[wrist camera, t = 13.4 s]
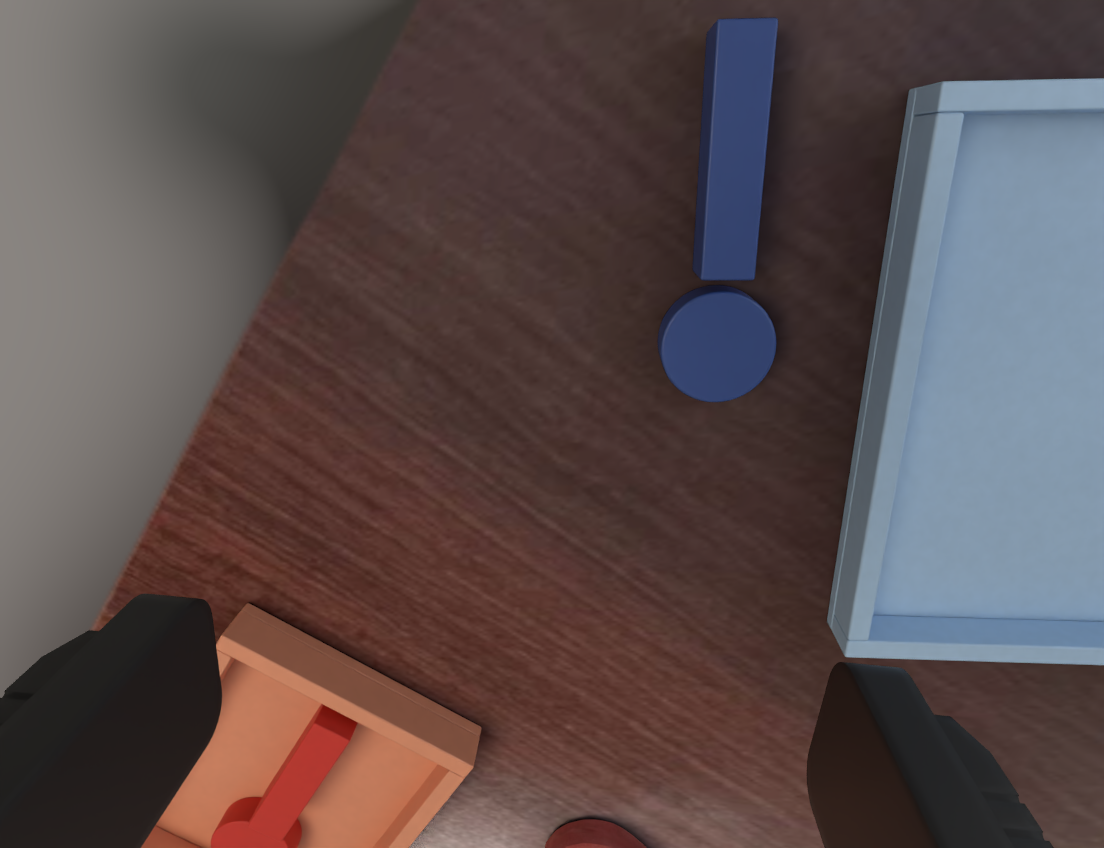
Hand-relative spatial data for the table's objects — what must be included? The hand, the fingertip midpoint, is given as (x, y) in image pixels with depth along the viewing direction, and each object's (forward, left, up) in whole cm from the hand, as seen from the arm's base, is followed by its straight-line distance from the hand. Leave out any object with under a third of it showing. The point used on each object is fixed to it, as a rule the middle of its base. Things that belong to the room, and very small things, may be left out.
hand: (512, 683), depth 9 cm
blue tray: (+1, +17, -14) cm, 22 cm away
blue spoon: (-4, +5, -14) cm, 16 cm away
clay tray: (+18, -11, -14) cm, 25 cm away
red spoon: (+18, -11, -14) cm, 25 cm away
